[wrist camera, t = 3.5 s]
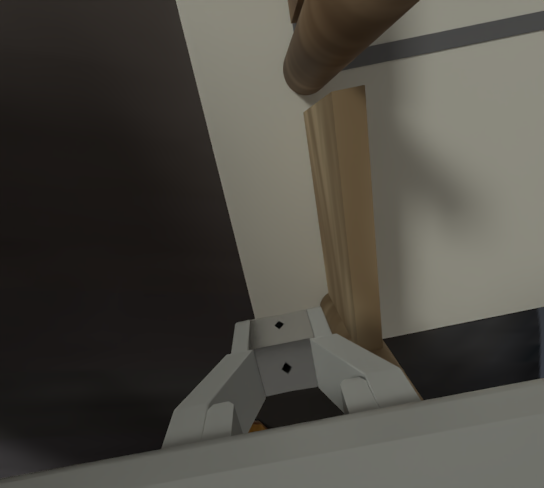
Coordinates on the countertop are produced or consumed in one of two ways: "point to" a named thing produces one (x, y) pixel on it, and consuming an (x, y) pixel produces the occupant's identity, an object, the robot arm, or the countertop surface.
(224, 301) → the countertop surface
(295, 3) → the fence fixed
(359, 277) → the fence gate
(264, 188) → the card
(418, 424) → the robot arm
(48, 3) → the countertop surface
